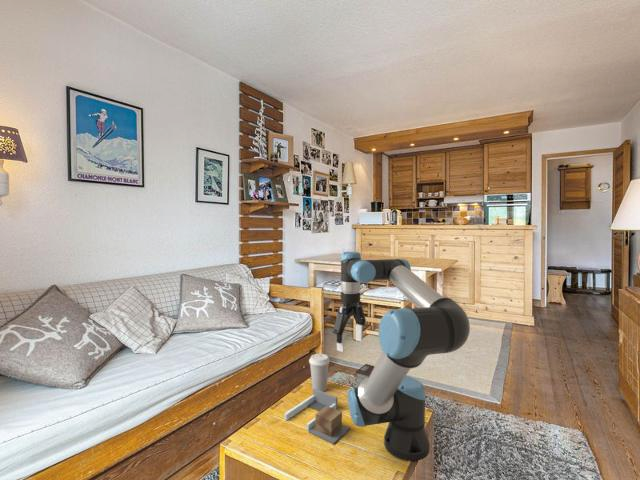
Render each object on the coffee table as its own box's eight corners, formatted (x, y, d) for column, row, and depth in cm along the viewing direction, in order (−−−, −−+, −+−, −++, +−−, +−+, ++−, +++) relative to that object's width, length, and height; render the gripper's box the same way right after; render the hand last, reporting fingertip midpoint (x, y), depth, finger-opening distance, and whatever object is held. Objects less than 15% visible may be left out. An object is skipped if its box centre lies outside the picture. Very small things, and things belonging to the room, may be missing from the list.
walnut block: (341, 427, 127) (341, 411, 127) (331, 437, 122) (331, 420, 121) (326, 421, 132) (326, 405, 131) (315, 430, 126) (315, 414, 126)
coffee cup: (329, 394, 153) (330, 361, 152) (308, 393, 153) (308, 361, 152) (329, 384, 163) (329, 353, 162) (309, 383, 163) (309, 352, 162)
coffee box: (365, 399, 149) (366, 363, 148) (379, 404, 145) (379, 367, 144) (355, 409, 141) (355, 370, 140) (369, 414, 137) (369, 374, 137)
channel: (337, 408, 141) (337, 397, 141) (308, 431, 126) (308, 418, 126) (314, 399, 148) (314, 388, 148) (284, 420, 133) (284, 407, 133)
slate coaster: (350, 429, 128) (350, 427, 127) (333, 444, 119) (333, 442, 119) (326, 418, 134) (326, 417, 134) (308, 432, 125) (308, 431, 125)
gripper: (358, 285, 145) (357, 335, 146) (323, 296, 125) (323, 353, 126) (374, 287, 140) (373, 338, 142) (340, 298, 120) (340, 358, 122)
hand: (349, 345), depth 134 cm, fingers open, 13 cm apart
